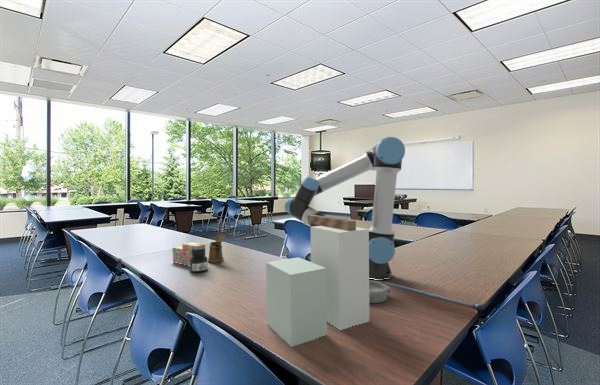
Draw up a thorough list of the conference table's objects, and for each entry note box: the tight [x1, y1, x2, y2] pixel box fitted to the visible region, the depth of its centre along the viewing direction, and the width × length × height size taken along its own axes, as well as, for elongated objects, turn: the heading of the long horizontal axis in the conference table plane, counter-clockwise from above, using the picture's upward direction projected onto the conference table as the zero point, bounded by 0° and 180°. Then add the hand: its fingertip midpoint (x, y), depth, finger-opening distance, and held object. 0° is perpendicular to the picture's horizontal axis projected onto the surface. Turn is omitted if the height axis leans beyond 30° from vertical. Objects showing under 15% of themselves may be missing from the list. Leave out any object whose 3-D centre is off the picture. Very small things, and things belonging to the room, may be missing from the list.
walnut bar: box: [308, 215, 357, 231], centre depth 104 cm, size 24×3×3 cm, turn 31°
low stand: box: [265, 257, 328, 348], centre depth 92 cm, size 16×12×20 cm
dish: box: [369, 280, 392, 304], centre depth 118 cm, size 14×14×5 cm
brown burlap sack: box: [207, 232, 226, 264], centre depth 176 cm, size 9×14×18 cm, turn 41°
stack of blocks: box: [172, 241, 206, 265], centre depth 171 cm, size 21×6×12 cm, turn 58°
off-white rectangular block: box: [310, 226, 370, 331], centre depth 100 cm, size 16×12×30 cm
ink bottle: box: [189, 246, 209, 274], centre depth 158 cm, size 10×9×12 cm
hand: (356, 243), depth 120 cm, fingers open, 13 cm apart
